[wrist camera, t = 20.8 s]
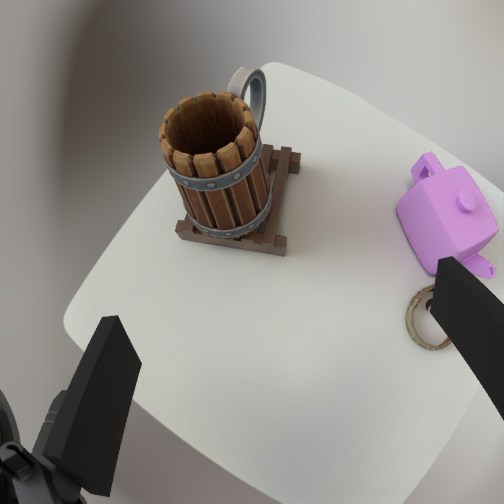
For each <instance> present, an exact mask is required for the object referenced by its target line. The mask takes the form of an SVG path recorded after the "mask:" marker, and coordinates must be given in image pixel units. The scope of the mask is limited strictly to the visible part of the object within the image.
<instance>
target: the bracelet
mask: <svg viewBox="0 0 504 504" xmlns="http://www.w3.org/2000/svg"><path fill="white" fill-rule="evenodd" d="M434 286H435V284H432V285H430V286H428V287H426V288H424V289H423V290H422V291H420V292H418V293H417V295H416V296H415V297H414V298H413V299H412V302H411V304H410V306H409V308H408V311H407V315H406V325H407V329H408V332H409V334H410V336H411V338H412V339H413V340H414V341H415V343H417V344H418V345H420V346H421V347H422V348H425V349H429V350H430V351H431V350H437V349H440V348H441V349H443V348H445V347H447V345H449V344H450V343H452V341H451V340H450V338H449V337H447V339H446V340H445V341H444V342H443V343H442V344H441V345H439V346H431V345H429V344H427V343H426V342H424V341H423V340H422V339H421V338H420V337H419V335H418V334H417V332H416V330H415V327H414V324H413V311H414V308H417V307H416V306H417V305H418V303H419V302H420V301H421V298H422V297H423V296H424V295H425V294H426V293H427V292H429V291H434ZM431 304H432V299H429V300H428V301H427V303H426V310H428V308H429V307H430V306H431Z"/></svg>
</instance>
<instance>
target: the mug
mask: <svg viewBox="0 0 504 504" xmlns="http://www.w3.org/2000/svg"><path fill="white" fill-rule="evenodd" d="M249 84H250V108H249V107H248V106H247V104H246V103H245V102H244V97H245V92H246V90H247V87H248V85H249ZM265 105H266V79H265V75H264V73H263V72H262V71H261V70H260V69H257V68H251V67H247V66H243V67H241V68H239V69H238V70H237V71H236V73H235V74H234V76H233V77H232V79H231V81H230V83H229V86H228V89H227V92H223V91H222V92H218V94H217V96H216V95H215V94H214V93H213V92H211V91H205V92H200V93H199V94H198V95H197V97H196V99H195V98H193V97H192V96H191V97H186V98H184V99H182V100H181V101H180V102H179V104H178V108H177V109H176V108H172V109H170V110H169V111H168V112H167V113H166V115H165V118H164V121H163V122H164V123H163V124H162V125H161V126H160V130H159V140H160V143H161V148H162V154H163V158H164V160H165V162H166V165H167V167H168V170H169V172H170V174H171V176H172V177H173V178H174V180H175V182H176V184H177V187H178V189H179V191H180V194H181V196H182V199H183V203H184V207H185V209H186V211H187V213H188V216H189V218H190V220H191V222H192V223H193V224H194V225H195V226H196V227H197V228H198V229H199V230H201V231H202V232H203V233H205V234H206V235H208V236H211V237H213V238H219V237H220V238H222V239H236V238H239V237H240V236H241V235H245V236H246V235H248V234H249V233H251V232H253V231H254V230H256V229H257V228H258V227H259V224H260V223H262V222H264V220H265V219H266V217H267V216H268V213H269V211H270V207H271V204H272V188H271V184H270V180H269V177H268V174H267V173H266V169H265V164H264V160H263V155H262V143H261V139H260V134H259V132H260V129H261V125H262V121H263V116H264V111H265Z"/></svg>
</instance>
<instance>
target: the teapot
mask: <svg viewBox="0 0 504 504" xmlns="http://www.w3.org/2000/svg"><path fill="white" fill-rule="evenodd" d="M428 172H429V173H430V174H431V176H429V175H428ZM411 173H412V176H413V179H414V183H415V185H414V186H413V187H412V188H411V189H409V190H408V191H407V192H406V193H405V194H404V195H403V197H402V198H401V199H400V201H399V202H398V206H397V213H398V217H399V219H400V222H401V224H402V226H403V229H404V231H405V233H406V236H407V238H408V240H409V242H410V244H411V246H412V248H413V250H414V251H415V253H416V255H417V257H418V258H419V260H420V262H421V264H422V265H423V267H424V269H425V270H426V271H427V273H428V274H430V275H436V273H437V265H438V259H441V258H446V257H450V256H453V257H454V258H455V259H456V260H457V261H459V262H460V263H461V264H462V265H463V266H464V267H465V268H466V269H467V270H469V271H470V272H471V273H472V274H474V275H478V276H481V277H485V278H489V279H491V278H492V277H494V276H495V275H496V273H495V269H494V266H493V264H491V263H490V262H488V261H487V260H485V259H484V258H482V257H481V256H480V255H478V254H477V252H479V251H480V250H481V249H482V248H484V247H485V246H486V245H487V244H488V243H489V242H490V240H491V239H492V238H493V237H494V236H495V234H496V233H497V232H498V226H497V223H496V220H495V218H494V215H493V213H492V211H491V209H490V207H489V205H488V203H487V201H486V199H485V198H484V196H483V194H482V192H481V191H480V189H479V187H478V186H477V184H476V183H475V181H474V180H473V178H472V177H471V176H470V174H469V173H468V172H467V170H466V169H465V168H464V167H462V166H458V167H454V168H451V169H448V170H446V171H445V169H444V168H443V166H442V165H441V163H440V162H439V161H438V159H437V158H436V156H435V155H434V153H433V152H429V153H426V154H422V156H421V157H420V158H419V160H418V161H417V162H416V163H415V165H414V166H413V167H412V169H411Z"/></svg>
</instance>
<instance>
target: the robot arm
mask: <svg viewBox="0 0 504 504" xmlns="http://www.w3.org/2000/svg"><path fill="white" fill-rule="evenodd" d="M430 313H431V314H432V316H433V317H434V318H435V320H436V321H437V322H438V324H439V325H440V326H441V328H442V329H443V330H444V332H445V333H446V334H447V336H448V337H449V338H450V340H451V341H452V343H453V344H454V345H455V347H456V348H457V350H458V351H459V352H460V354H461V355H462V357H463V358H464V360H465V361H466V362H467V364H468V365H469V367H470V368H471V370H472V371H473V373H474V374H475V376H476V377H477V379H478V380H479V382H480V383H481V385H482V386H483V388H484V389H485V391H486V392H487V394H488V396H489V397H490V399H491V400H492V402H493V404H494V405H495V407H496V408H497V410H498V412H499V413H500V415H501V417H502V418H503V420H504V304H503V303H502V302H501V301H500V300H499V299H498V298H497V297H496V296H495V295H494V294H493V293H492V292H491V291H490V290H489V289H488V288H487V287H486V286H485V285H484V284H482V283H481V282H480V281H479V280H478V279H477V278H476V277H475V276H474V275H473V274H472V273H471V272H470V271H469V270H467V269H466V268H465V267H464V266H463V265H462V264H461V263H460V262H459V261H457V260H456V259H455V258H454V257H453V256H450V257H446V258H441V259H438V265H437V273H436V280H435V286H434V292H433V298H432V304H431V309H430ZM141 365H142V363H141V361H140V359H139V357H138V355H137V353H136V351H135V349H134V347H133V345H132V343H131V341H130V339H129V337H128V335H127V333H126V331H125V329H124V327H123V325H122V323H121V321H120V319H119V317H118V315H116V316H108V317H102V318H101V320H100V322H99V324H98V326H97V328H96V330H95V332H94V334H93V336H92V338H91V340H90V342H89V344H88V346H87V348H86V350H85V352H84V355H83V357H82V359H81V361H80V363H79V366H78V367H77V370H76V372H75V374H74V376H73V378H72V380H71V383H70V385H69V387H68V389H67V390H62V391H61V392H60V393H59V394H58V395H57V396H56V398H55V399H54V400H53V402H52V404H51V406H50V409H49V414H47V416H46V418H45V423H43V425H42V428H41V430H40V433H39V435H38V438H37V440H36V443H35V445H34V448H33V451H32V453H31V454H30V453H29V452H28V451H27V450H26V449H25V448H24V447H23V446H22V445H20V444H19V443H18V442H15V441H10V442H7V443H5V444H4V445H3V441H2V434H1V429H0V504H87V502H86V500H85V498H84V497H83V496H82V495H81V494H80V491H81V487H82V488H84V489H85V490H86V491H88V492H89V493H91V494H95V495H100V496H106V497H110V492H111V487H112V482H113V477H114V472H115V468H116V463H117V459H118V454H119V450H120V445H121V441H122V437H123V433H124V429H125V425H126V421H127V417H128V413H129V409H130V405H131V401H132V397H133V394H134V390H135V386H136V383H137V379H138V376H139V372H140V369H141Z"/></svg>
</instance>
